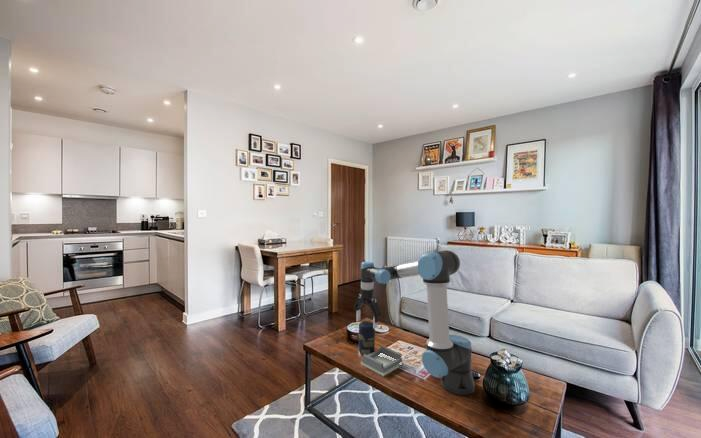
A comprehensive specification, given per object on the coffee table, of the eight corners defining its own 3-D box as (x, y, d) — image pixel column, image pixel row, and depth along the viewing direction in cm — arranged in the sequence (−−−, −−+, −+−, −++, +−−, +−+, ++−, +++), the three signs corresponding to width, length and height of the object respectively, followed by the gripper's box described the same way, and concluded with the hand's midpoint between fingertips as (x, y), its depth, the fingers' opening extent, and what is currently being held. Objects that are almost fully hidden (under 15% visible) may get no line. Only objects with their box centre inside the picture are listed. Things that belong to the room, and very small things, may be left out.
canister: (375, 356, 166) (375, 325, 166) (358, 356, 166) (358, 325, 166) (374, 348, 176) (374, 319, 175) (358, 348, 176) (358, 318, 176)
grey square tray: (402, 364, 157) (402, 354, 157) (383, 376, 146) (383, 365, 146) (380, 354, 169) (380, 344, 169) (360, 364, 158) (360, 354, 158)
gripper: (387, 291, 164) (387, 329, 164) (356, 283, 182) (356, 316, 183) (379, 294, 159) (378, 332, 159) (347, 285, 177) (347, 319, 177)
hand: (366, 324), depth 171 cm, fingers open, 13 cm apart
